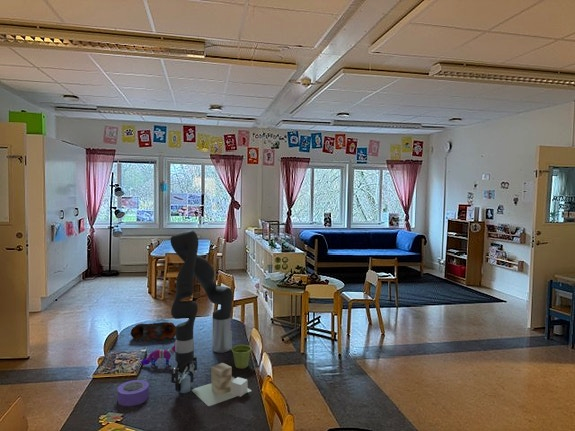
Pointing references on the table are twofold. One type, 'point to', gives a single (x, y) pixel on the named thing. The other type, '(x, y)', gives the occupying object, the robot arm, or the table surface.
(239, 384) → the block
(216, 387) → the tower base
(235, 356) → the plant pot
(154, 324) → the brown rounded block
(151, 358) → the toy dog
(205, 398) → the mat
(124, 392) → the tape roll
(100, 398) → the table surface
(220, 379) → the tower top
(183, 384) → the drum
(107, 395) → the table surface
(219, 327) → the robot arm
